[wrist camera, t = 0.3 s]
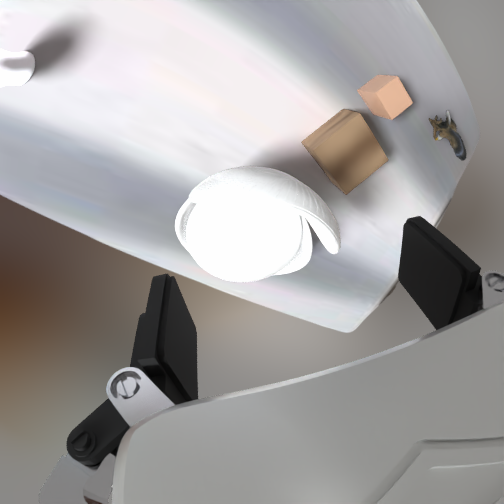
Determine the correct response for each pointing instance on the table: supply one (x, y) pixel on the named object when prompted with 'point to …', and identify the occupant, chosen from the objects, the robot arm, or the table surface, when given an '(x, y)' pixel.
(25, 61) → the white rounded tall piece
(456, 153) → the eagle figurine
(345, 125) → the walnut block
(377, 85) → the peach block
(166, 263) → the table surface
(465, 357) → the robot arm
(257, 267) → the white toilet model
